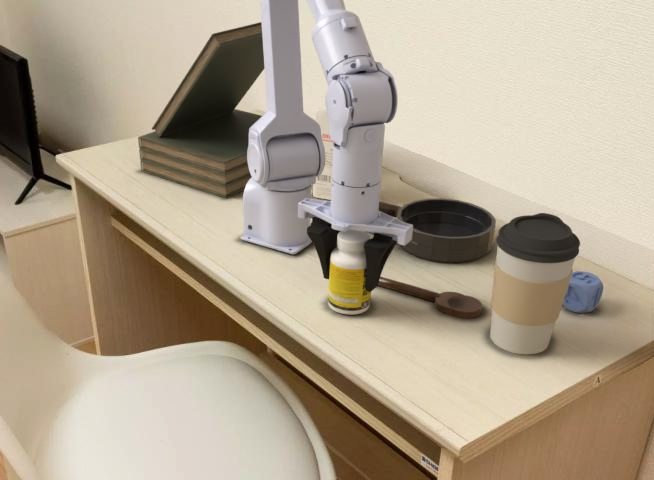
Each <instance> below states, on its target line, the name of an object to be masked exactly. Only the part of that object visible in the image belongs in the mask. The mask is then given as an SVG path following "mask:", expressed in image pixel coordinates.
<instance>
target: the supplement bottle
mask: <svg viewBox="0 0 654 480" xmlns="http://www.w3.org/2000/svg"><path fill="white" fill-rule="evenodd" d="M370 239H371V234H369V233H365V232H361V231H355V230H348V231H347V232H342V231H340V232H339V233H338V235H337V247H336V248H335V249H334V250H333V251H332V253H331V257H330V274H329V279H328V291H327V292H328V293H327V305H328V307H329V308H330V309H331V310H332V311H334V312H336V313H339V314H341V315H342V314H343V315H353V316H354V315H359V314H362V313H364V312H366V311H368V309H370V306H371V298H372V292H369V291H366V288H365V281H366V270H367V266H366V255H365V250H364V244H365V243H366V242H367V241H368V240H370Z"/></svg>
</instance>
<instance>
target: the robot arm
mask: <svg viewBox="0 0 654 480" xmlns="http://www.w3.org/2000/svg"><path fill="white" fill-rule="evenodd" d="M306 2H307V5H308V7H309V9H310V11H311V13H312V15H313V18H314V20H315V22H316V23H315V25H314V27H313V29H312V31H311V40H312V43H313V44H314V48H315V51H316V54H317V58H318V60H319V63H320V66H321V69H322V71H323V74H324V77H325V80H326V84H327V90H326V94H325V96H324V101H325V110H327V115H328V119H329V133H330V139H331V140H333V162H332V184H331V200H319V199H314V198H313V199H312V186H313V184H316V177H318V176H320V175H321V173H322V171H323V169H324V167H325V160H326V156H325V148H324V145H323V142H322V136H321V128H320V125H319V124H318V123H317V122H316V119H314V118H313V117H311V116H310V115H308V114H307V113H305V112H304V97H303V96H304V95H303V76H302V75H303V74H302V73H303V71H302V54H301V53H302V51H301V33H300V14H299V13H300V11H299V0H259V4H260V5H259V6H260V22H261V23H262V38H263V53H264V82H265V83H264V85H265V97H266V98H265V99H266V111H265V113H264V114H263V115H261V116H262V117H261V118H260V119H259V120H258V121H257V122H256V123H254V124H253V125H252V126H251V127H250V129H249V145H248V150H247V161H248V167H249V171H250V174H251V176H252V177H251V178H250V180H249V181H248V182H247V184H246V186H245V189H244V190H243V195H242V225H243V226H242V227H243V231H242V232H243V234H241V235H240V240H242V241H245V242H249V243H251V244H254V245H255V244H256V245H258V246H262V247H266V248H269V249H272V250H277V251H279V252H283V253H285V254H290V255H296V254H298V253H300V252H301V251H302V250H303V249H305V248H306V247H307V246H309V245H310V244H313V247H314V249H315V251H316V253H317V257H318V259H319V263H320V266H321V272H322V275H323V279H325V280H329V274H330V257H331V253H332V251H333V250H334V249H335V248H336V247H337V235H338V233H339V232H340V231H342V232H347V231H348V230H355V231H361V232H365V233H368V234H369V235H373V236H372V237H370V240H368V241H367V242H366V243H365V244H364V250H365V255H366V266H367V270H366V281H365V288H366V291H369V292H371V293H372V292H373V291H374V290H375V289H376V288H378V286H379V285H378V283H379V279H380V276H381V275H382V272H383V270H384V268H385V265H386V263H387V261H388V259H389V257H390V256H391V254H392V252H393V250H394V248H395V247H396V245H399V244H400V245H404V246H405V245H406V244H408V243H409V242H410V241H411V240H412V232H413V225H411V224H408V223H405V222H402V221H400V220H398V219H396V218H395V217H391V216H389V215H387V214H385V213H383V212H381V211H379V201H380V199H381V198H380V197H381V183H382V171H383V170H382V169H383V156H384V147H385V146H384V145H385V133H386V132H385V131H386V125H385V124H389V123H391V122H392V121H393V120H394V118H395V117H396V114H397V110H398V103H399V102H398V101H399V100H398V99H399V98H398V90H397V86H396V83H395V78H394V76H393V74H392V73H391V72H390V71H389V70H388V69H387V68H384V66H383V64H382V62H380V61H375V58H374V55H373V53H372V49H371V47H370V44H369V41H368V39H367V36H366V32H365V30H364V27H363V24H362V22H361V19H360V17H359V16H358V15H357V14H356V13H354V12H352V11H348V10H347V9H346V5H345V1H344V0H306ZM296 133H302V134H296ZM287 134H294V135H287ZM279 135H286V136H279ZM274 136H278V137H274ZM400 245H399V246H400ZM381 277H382V276H381Z"/></svg>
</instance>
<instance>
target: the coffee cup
mask: <svg viewBox="0 0 654 480" xmlns="http://www.w3.org/2000/svg"><path fill="white" fill-rule="evenodd" d="M495 243H496V245H497V249H496V257H495V259H494V268H493V280H492V282H493V283H492V293H491V304H490V305H491V306H490V307H491V320H490V329H489V338H490V340H491V341H492V343H493V344H494V345H495V346H497V347H498V348H500V349H502V350H504V351H506V352H509V353H512V354H513V353H514V354H518V355H537V354H540V353H542V352H544V351H546V350H547V349H548V347H549V345H550V341H551V338H552V335H553V331H554V329H555V326H556V321H558V319H559V317H560V314H561V310H562V308H563V301H564V298H565V295H566V291H567V288H568V285H569V282H570V278H571V275H572V272H574V271H573V266H574V263H575V260H576V257H577V256H578V255H579V253H580V247H581V241H580V239H579V237H578V236H577V235H576V234H575V233H574V232H573V230H572V227H570V226H569V225H568V224H566V223H565V222H564V221H563V220H562V219H561V218H560V217H559V216H558V215H555V214H551V213H546V212H541V213H536V214H531V215H519V216H516V217H514V218H512V219H511V220H510V221H509V222H507V223H505V224H504V225H502V226H501V227H500V228H499V229H498V232H497V236H496V238H495Z"/></svg>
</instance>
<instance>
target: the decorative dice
mask: <svg viewBox="0 0 654 480" xmlns="http://www.w3.org/2000/svg"><path fill="white" fill-rule="evenodd" d="M603 293H604V283H603V282H602V280H601V278H600V277H599V276H598V275H596V274H594V273H592V272H589V271H582V270H581V271H580V270H579V271H577V270H576V271H573V272H572V275H571V278H570V282H569V285H568V288H567V291H566V295H565V298H564V301H563V304H562V306H563V307H564V308H565V309H566V310H568V311H571V312H574V313H578V314H588V313H590V312H593V311H594V310H595V309H596V308H597V306H598V305H599V303H600V301H601V299H602V296H603Z"/></svg>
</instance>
